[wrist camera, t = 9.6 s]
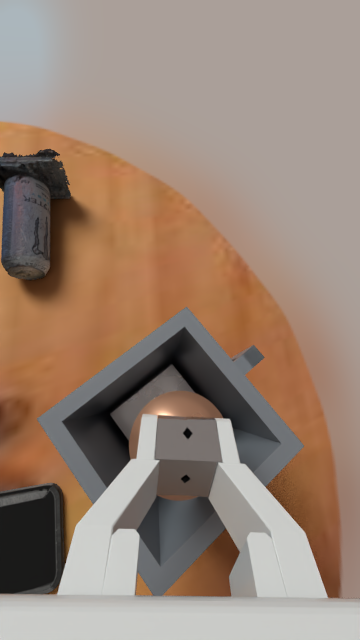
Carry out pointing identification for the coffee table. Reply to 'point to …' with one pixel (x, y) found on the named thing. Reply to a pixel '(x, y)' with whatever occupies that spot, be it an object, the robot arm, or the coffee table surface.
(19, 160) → the beverage can
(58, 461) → the coffee table surface
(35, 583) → the phone
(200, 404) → the ball-topped press plunger
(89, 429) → the box
